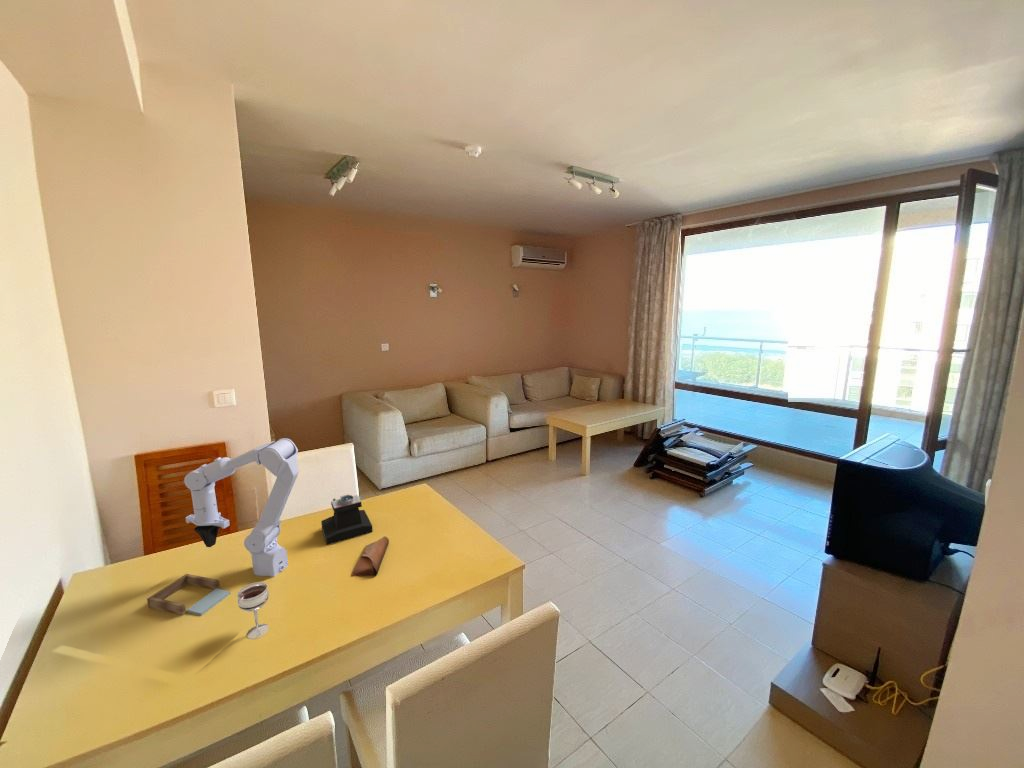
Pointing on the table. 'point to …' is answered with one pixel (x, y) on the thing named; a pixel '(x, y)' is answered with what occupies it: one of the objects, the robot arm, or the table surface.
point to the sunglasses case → (371, 558)
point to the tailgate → (208, 601)
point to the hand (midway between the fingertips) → (211, 545)
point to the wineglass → (254, 605)
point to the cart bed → (175, 607)
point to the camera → (346, 520)
